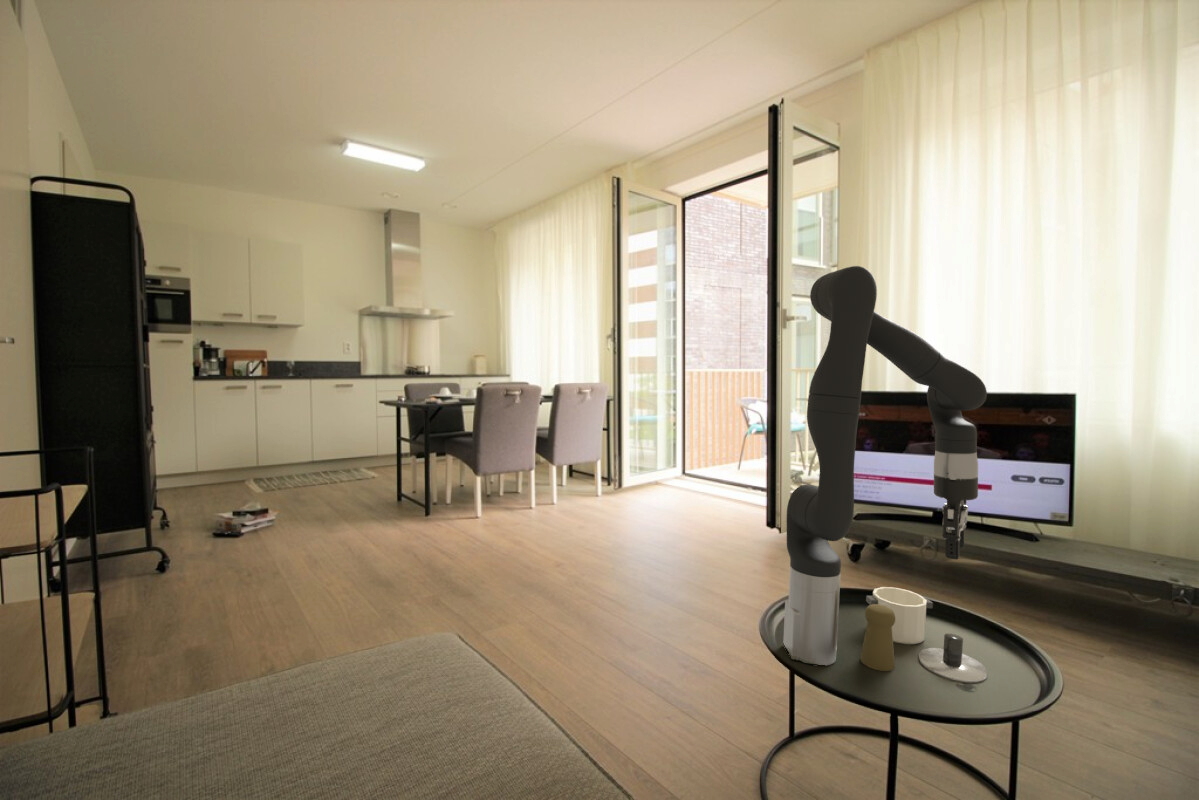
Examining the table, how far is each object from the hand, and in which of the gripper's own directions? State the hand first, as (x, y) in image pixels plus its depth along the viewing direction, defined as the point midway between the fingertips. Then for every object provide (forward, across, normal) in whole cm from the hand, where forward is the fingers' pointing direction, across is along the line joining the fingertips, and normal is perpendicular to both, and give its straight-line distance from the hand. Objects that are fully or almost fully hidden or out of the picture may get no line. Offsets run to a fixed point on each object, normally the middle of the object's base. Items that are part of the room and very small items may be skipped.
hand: (955, 552), depth 113 cm
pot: (+19, +1, -10) cm, 22 cm away
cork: (+19, +18, -11) cm, 28 cm away
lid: (+20, +9, +1) cm, 22 cm away
